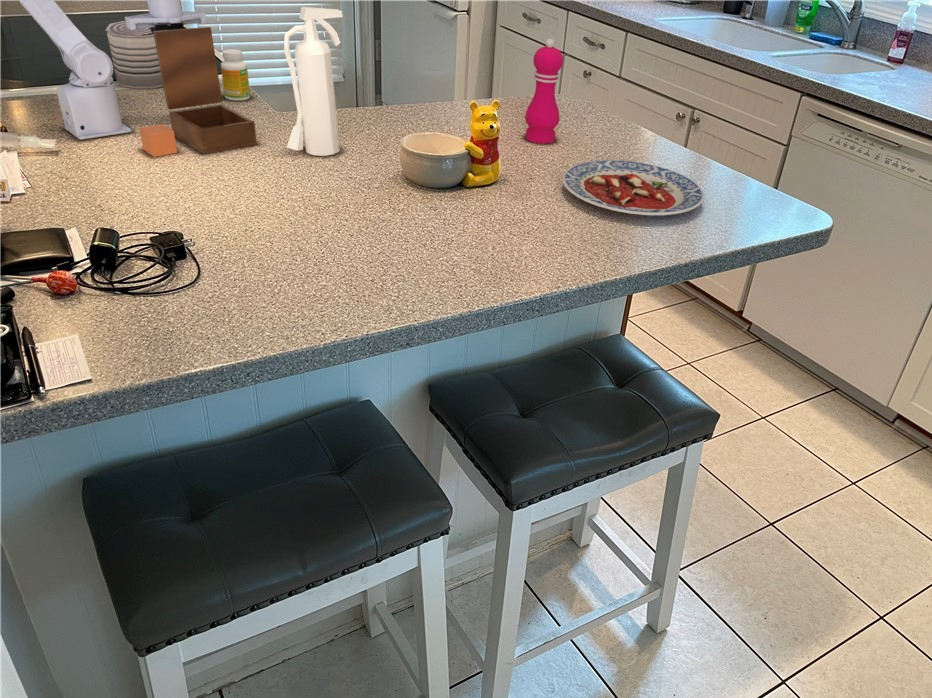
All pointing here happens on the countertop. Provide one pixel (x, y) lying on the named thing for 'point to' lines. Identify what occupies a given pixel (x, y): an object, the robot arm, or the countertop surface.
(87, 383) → the countertop surface
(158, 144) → the block
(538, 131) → the pepper mill
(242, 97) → the supplement bottle
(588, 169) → the ceramic plate
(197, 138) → the box
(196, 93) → the lid
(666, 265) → the countertop surface
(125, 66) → the can
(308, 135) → the fire extinguisher
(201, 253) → the countertop surface
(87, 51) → the robot arm
